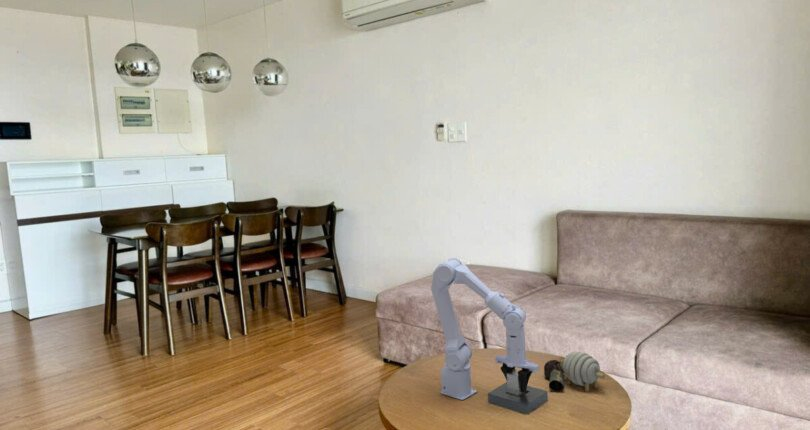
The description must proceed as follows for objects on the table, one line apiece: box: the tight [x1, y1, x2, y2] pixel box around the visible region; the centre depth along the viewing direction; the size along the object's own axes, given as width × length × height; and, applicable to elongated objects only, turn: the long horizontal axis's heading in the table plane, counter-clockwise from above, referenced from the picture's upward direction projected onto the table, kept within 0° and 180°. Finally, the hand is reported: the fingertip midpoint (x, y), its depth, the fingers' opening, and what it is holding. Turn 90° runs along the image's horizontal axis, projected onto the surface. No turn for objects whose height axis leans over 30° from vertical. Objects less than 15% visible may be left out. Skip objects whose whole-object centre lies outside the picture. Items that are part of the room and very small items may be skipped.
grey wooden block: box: [506, 368, 526, 397], centre depth 174 cm, size 4×4×8 cm
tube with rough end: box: [543, 359, 565, 393], centre depth 189 cm, size 18×7×6 cm, turn 163°
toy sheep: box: [560, 351, 606, 392], centre depth 183 cm, size 11×17×11 cm, turn 38°
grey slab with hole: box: [487, 381, 549, 415], centre depth 175 cm, size 14×12×3 cm
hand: (517, 389), depth 175 cm, fingers closed on grey wooden block, 4 cm apart
